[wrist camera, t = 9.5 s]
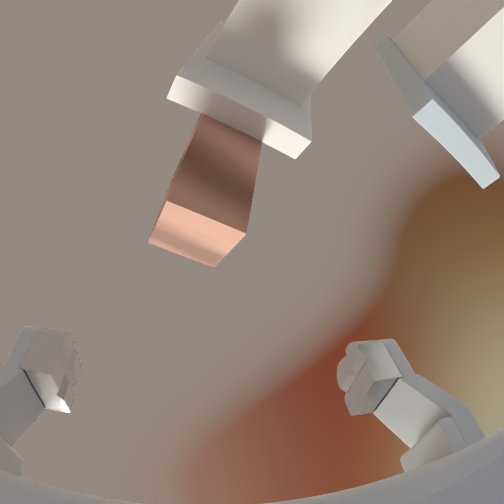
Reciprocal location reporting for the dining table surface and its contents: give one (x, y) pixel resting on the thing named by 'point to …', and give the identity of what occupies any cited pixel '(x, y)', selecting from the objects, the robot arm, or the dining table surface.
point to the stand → (331, 49)
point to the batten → (209, 193)
